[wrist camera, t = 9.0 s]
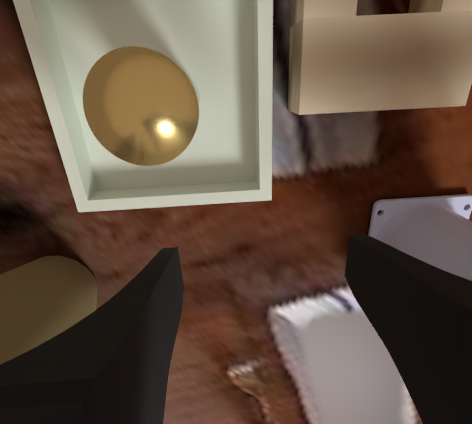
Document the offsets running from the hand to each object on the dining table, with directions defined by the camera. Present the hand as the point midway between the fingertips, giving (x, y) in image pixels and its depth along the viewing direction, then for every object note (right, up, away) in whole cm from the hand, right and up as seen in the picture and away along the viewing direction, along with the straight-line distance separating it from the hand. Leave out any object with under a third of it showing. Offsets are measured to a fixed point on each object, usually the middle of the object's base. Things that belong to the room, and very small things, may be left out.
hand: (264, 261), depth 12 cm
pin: (-5, +9, +6) cm, 12 cm away
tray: (-6, +9, +7) cm, 13 cm away
